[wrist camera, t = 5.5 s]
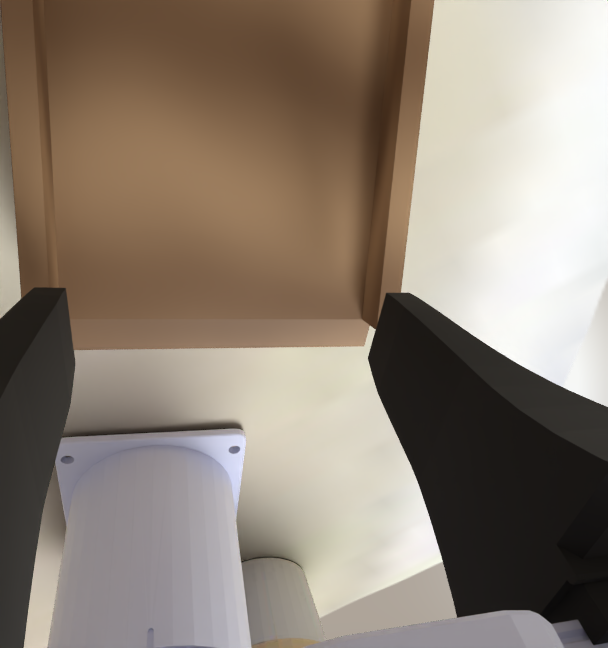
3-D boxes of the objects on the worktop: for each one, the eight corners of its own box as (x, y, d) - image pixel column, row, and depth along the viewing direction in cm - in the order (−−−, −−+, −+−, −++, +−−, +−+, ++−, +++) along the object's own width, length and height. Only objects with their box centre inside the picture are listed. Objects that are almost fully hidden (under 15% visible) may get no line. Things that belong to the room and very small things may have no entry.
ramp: (328, 271, 21) (380, 381, 16) (69, 265, 19) (35, 391, 14) (424, -206, 13) (585, -288, 8) (2, -323, 11) (-140, -544, 6)
